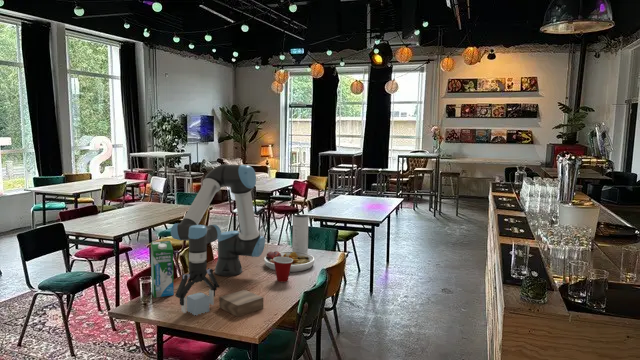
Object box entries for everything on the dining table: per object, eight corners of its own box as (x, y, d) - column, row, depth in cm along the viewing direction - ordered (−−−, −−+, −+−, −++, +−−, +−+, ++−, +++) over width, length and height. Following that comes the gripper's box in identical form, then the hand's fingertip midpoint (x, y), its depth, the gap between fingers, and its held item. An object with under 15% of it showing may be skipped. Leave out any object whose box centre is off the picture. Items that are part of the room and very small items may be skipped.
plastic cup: (290, 284, 233) (290, 262, 231) (270, 282, 235) (270, 260, 234) (295, 278, 243) (295, 256, 242) (276, 276, 245) (276, 255, 244)
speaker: (311, 254, 293) (311, 215, 291) (299, 257, 286) (300, 217, 283) (300, 251, 301) (300, 213, 298) (288, 253, 293) (289, 214, 291)
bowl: (319, 261, 278) (319, 249, 277) (307, 276, 249) (307, 262, 248) (273, 257, 284) (273, 245, 284) (256, 271, 255) (256, 257, 255)
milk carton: (153, 298, 210) (153, 246, 207) (151, 291, 218) (150, 242, 215) (173, 295, 214) (173, 244, 212) (170, 289, 222) (170, 240, 220)
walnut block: (219, 307, 200) (219, 297, 199) (244, 299, 210) (244, 289, 209) (237, 316, 190) (237, 305, 190) (263, 308, 200) (263, 297, 200)
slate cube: (186, 311, 195) (186, 295, 195) (200, 307, 200) (200, 292, 200) (195, 316, 190) (195, 300, 190) (209, 311, 196) (209, 296, 195)
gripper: (175, 268, 182) (175, 318, 184) (226, 257, 200) (226, 303, 202) (166, 264, 187) (167, 313, 189) (217, 254, 205) (217, 298, 207)
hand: (198, 308), depth 195 cm, fingers open, 13 cm apart
